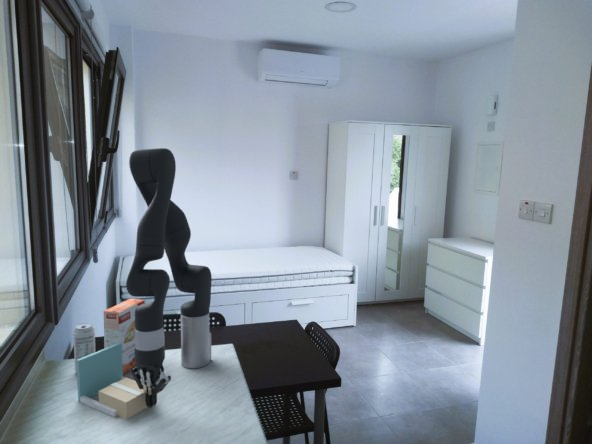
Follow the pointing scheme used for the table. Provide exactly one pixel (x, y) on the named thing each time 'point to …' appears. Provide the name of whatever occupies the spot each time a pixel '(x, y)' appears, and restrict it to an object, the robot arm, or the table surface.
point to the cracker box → (122, 330)
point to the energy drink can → (83, 341)
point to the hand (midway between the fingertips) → (151, 405)
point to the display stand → (99, 375)
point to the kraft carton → (124, 397)
